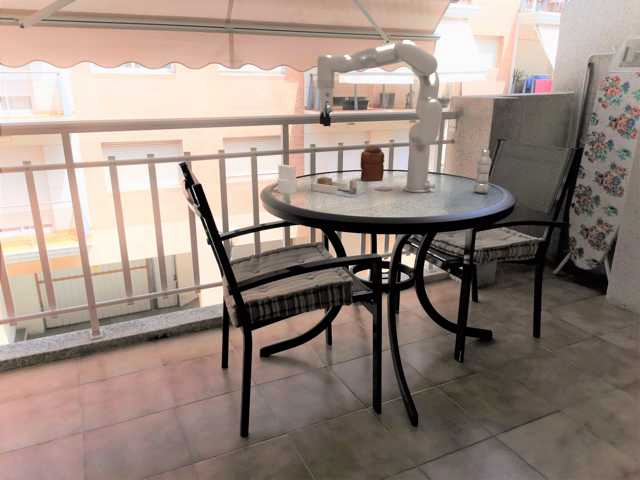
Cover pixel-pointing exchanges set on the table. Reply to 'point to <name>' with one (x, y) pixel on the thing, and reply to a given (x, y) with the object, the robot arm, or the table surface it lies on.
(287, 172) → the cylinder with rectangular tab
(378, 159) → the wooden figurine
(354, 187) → the rod with block end
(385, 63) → the robot arm
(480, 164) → the plastic bottle
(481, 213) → the table surface
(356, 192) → the mat
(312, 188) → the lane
